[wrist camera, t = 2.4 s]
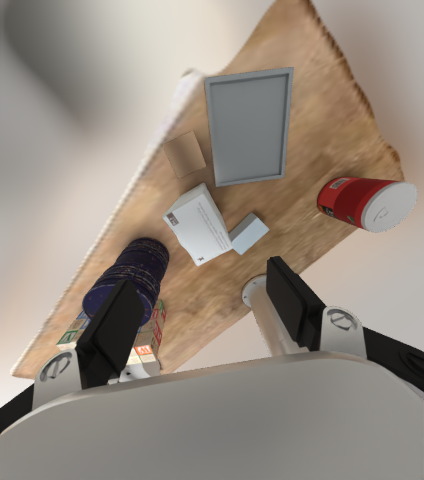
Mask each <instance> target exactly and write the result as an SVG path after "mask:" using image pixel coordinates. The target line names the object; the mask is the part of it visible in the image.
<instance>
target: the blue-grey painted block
mask: <svg viewBox="0 0 424 480" xmlns="http://www.w3.org/2000/svg"><path fill="white" fill-rule="evenodd" d="M268 231H269V229H268V228H267V227H266V226H265V225H264V223H263V222H262V221H261V220H260V219H259V218H258V217H257V216H255V215H254V214H253V213H252V212H251V213H250V214H249V215H248V216H247V217H246V218H245V219H244V220H243V221H242V222H241V223H240V224H238V225H237V226H236V227H235V228H234V229H233V230H232V231H231V232H230V233H229V237H230V240H231V242H232V245H233V247H234V248H233V249H234V250H235V251H237V252H238V253H239V254H240V255H242V254H243V253H244V252H245V251H246V250H247V249H249V248H250V247H251V246H252V245H253V244H254V243H255V242H256V241H258V240H259V239H260V238H261V237H262V236H263V235H264V234H265V233H267V232H268Z"/></svg>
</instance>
